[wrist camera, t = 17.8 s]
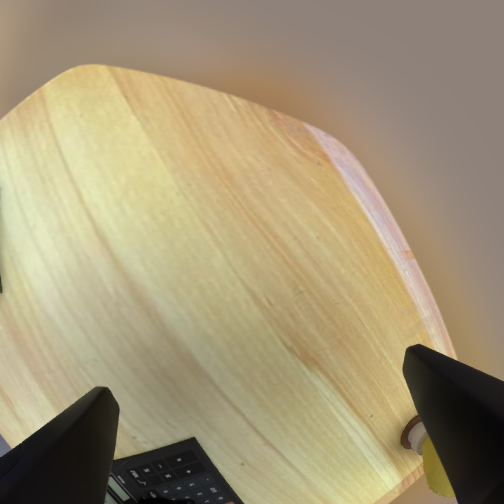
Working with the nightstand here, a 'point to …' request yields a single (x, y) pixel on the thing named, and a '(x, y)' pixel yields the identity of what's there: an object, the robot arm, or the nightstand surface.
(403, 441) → the coaster
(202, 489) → the calculator
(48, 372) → the nightstand surface
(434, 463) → the light bulb
